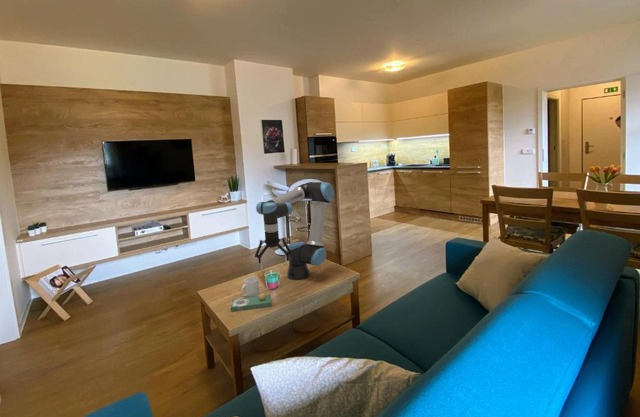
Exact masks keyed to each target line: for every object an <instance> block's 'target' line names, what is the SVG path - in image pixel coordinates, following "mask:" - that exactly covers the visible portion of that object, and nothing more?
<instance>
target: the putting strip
mask: <svg viewBox="0 0 640 417" xmlns="http://www.w3.org/2000/svg"><path fill="white" fill-rule="evenodd" d="M264 295H265V294H264ZM271 296H272V294H266V295H265V298H264V299H263V300H260V299H259V296H256V297H248V298H246V297H242V298H240V297H239V298H234V299H231V304H230V312H231V313H234V312H241V311H248V310H255V309H264V308H271V307H272V297H271Z"/></svg>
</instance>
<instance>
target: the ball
mask: <svg viewBox="0 0 640 417" xmlns="http://www.w3.org/2000/svg"><path fill="white" fill-rule="evenodd" d="M264 298H265V294H264V293H263V292H262V293H260V294H259V299H260V300H263V299H264Z"/></svg>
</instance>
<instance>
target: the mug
mask: <svg viewBox="0 0 640 417" xmlns="http://www.w3.org/2000/svg"><path fill="white" fill-rule="evenodd" d="M243 290H244V294H243ZM260 292H261V291H260V283H259V278H258V277H257V276H249V277H246V278H244V279H243V285H242V287H241V290H240V294H241V297H242V298H248V297H256V296H259V294H261V293H260Z"/></svg>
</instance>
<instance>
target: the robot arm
mask: <svg viewBox="0 0 640 417" xmlns="http://www.w3.org/2000/svg"><path fill="white" fill-rule="evenodd" d="M334 196H335V189H334V187H333V185H332V184H331V183H329V182H323V181H322V182H321V181H309V182H304V183H302V184H300V185H297V186H296V187H294V188H293V189H291V190H290V191H287V192H286V193H283V194H280V195H278V196H276V197H274V198H272V199H269V200H267V201H259V202H258V203H257V204H256V206H255V209H256V212H257V214H259V215H262V216H263V217H262V218H263V227H264V228H263V229H264V240H262V239H260V240H259V243H258V246H257V249H256V251H255V254H254V258H257V259H258V264H260V269H261V270H264V269H263V268H264V265H263V255H264V254H265V252H266V251H267V250H268V249H269V248H271V249H272V248H276V247H277V248H278V249H280V250H281V251H282V252H283V254H284V263H285V267H286V268H287V267H288V269H287V274H286V276H287V278H288V279H289V280H293V281H294V280H295V281H296V280H297V281H299V280H300V281H301V280H304V279H306V278H308V277H310V269H309V268H308V265H311V266H317V267H319V266H321V265H322V264H323V263H324V262H325V261H326V258H327V250H326V249H325V248H324V246H325V245H324V243H323V237H324V236H323V235H324V227H325V218H326V213H327V212H326V211H327V207H328V206H329V204H330V201H333V199H334V198H335V197H334ZM303 200H311V203H312V204H313V205H312V212H311V222H310V227H309V228H310V230H309V235H308V236H309V237H308V240H307V242H305V241H294V242H292V243H289V244H287V243H286V241H285V240H286V239H285V237H282V238H280V236H279V235H280V234H279V222H278V221H279V219H280V218H284V217H287V216H289V215H291V214H292V213H293V206H292V204H294V203H296V202H298V201H300V202H301V201H303ZM280 242H281V243H282V244H283V245H284V247H285V248H284V247H283V246H282V245H281V244H280ZM264 244H265V246H264V247H263V248H262V245H264ZM261 249H262V250H261Z"/></svg>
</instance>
